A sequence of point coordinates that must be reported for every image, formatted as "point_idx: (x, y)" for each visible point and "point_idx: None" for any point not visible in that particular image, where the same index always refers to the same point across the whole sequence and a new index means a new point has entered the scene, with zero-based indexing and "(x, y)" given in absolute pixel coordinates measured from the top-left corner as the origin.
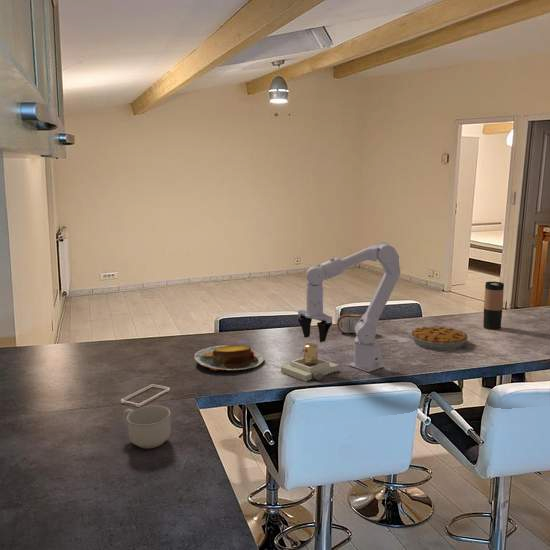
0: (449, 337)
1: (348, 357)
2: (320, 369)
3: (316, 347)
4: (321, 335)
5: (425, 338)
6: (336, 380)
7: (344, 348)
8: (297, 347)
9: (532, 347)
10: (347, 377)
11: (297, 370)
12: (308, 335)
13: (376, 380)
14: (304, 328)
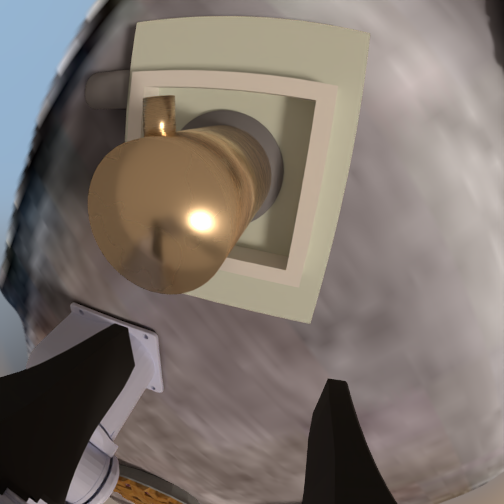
0: (115, 486)
1: (225, 405)
2: None
3: (94, 218)
4: (61, 354)
5: (138, 488)
6: (75, 151)
7: (295, 456)
8: (461, 404)
9: None
10: (73, 212)
11: (226, 42)
12: (315, 416)
13: (23, 247)
14: (330, 467)
